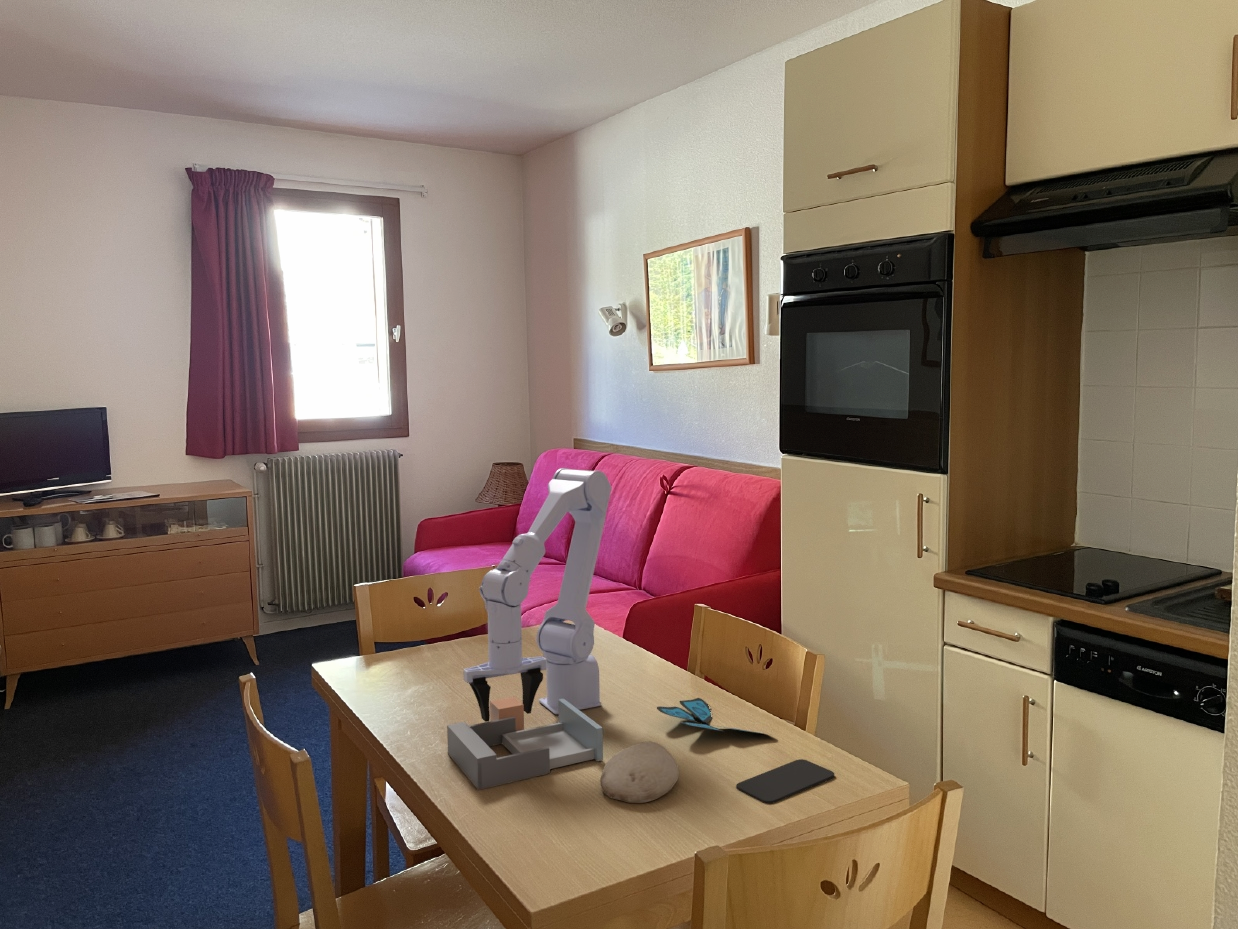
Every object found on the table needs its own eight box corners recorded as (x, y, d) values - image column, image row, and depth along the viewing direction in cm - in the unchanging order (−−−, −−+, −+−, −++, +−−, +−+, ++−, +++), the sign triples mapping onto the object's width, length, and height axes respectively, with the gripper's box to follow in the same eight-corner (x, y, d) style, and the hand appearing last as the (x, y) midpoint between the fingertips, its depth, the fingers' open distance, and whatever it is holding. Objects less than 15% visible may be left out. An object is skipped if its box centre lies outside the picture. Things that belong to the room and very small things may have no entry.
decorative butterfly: (639, 713, 164) (640, 698, 163) (703, 703, 171) (705, 688, 171) (708, 760, 146) (709, 742, 146) (776, 746, 154) (778, 730, 154)
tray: (564, 728, 159) (563, 698, 159) (602, 760, 146) (602, 727, 146) (499, 741, 154) (499, 710, 153) (534, 775, 141) (533, 742, 140)
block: (514, 724, 162) (514, 696, 162) (524, 732, 158) (523, 704, 158) (490, 728, 160) (489, 701, 160) (499, 737, 156) (498, 709, 156)
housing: (514, 739, 155) (513, 712, 155) (549, 773, 142) (549, 743, 141) (447, 753, 150) (447, 725, 149) (478, 790, 137) (477, 758, 136)
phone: (732, 784, 137) (801, 757, 145) (732, 790, 137) (801, 762, 146) (768, 803, 131) (838, 773, 140) (768, 808, 131) (838, 779, 140)
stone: (628, 835, 132) (652, 802, 128) (581, 785, 136) (602, 751, 132) (676, 793, 142) (699, 761, 138) (630, 748, 146) (652, 715, 142)
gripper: (472, 651, 151) (473, 731, 152) (553, 639, 157) (554, 715, 159) (458, 640, 157) (460, 717, 158) (537, 629, 164) (538, 703, 165)
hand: (506, 715), depth 159 cm, fingers open, 7 cm apart
